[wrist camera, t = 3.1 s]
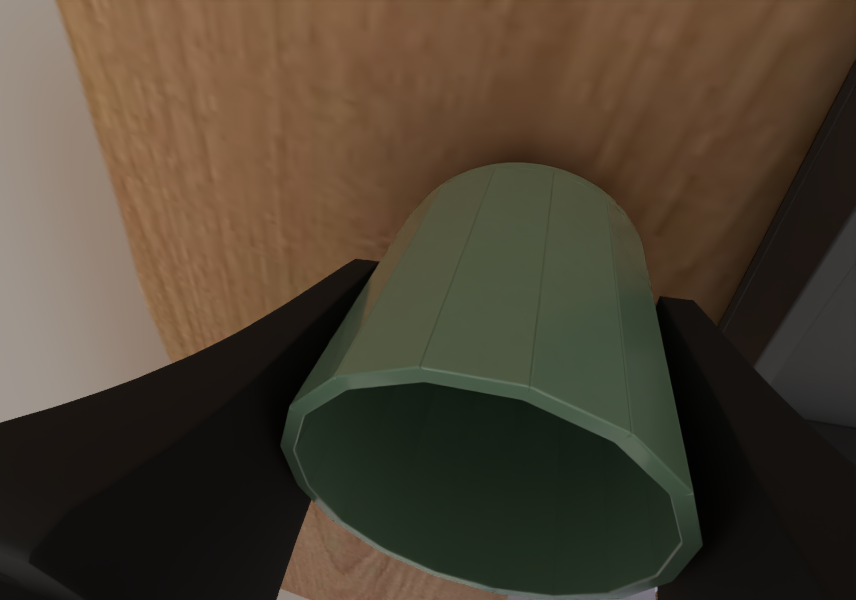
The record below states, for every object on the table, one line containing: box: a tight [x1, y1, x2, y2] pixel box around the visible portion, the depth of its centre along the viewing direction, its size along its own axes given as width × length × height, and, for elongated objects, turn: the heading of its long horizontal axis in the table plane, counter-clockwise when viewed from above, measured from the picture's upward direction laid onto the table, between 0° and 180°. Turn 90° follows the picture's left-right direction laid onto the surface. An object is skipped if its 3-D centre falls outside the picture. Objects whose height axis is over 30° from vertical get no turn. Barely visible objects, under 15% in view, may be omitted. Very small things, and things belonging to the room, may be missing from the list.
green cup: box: [280, 163, 703, 600], centre depth 9 cm, size 6×6×6 cm
